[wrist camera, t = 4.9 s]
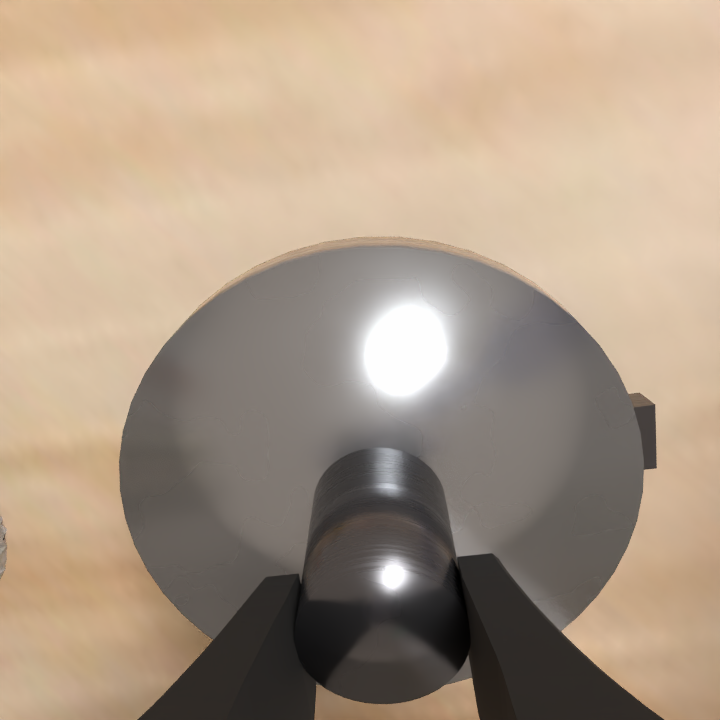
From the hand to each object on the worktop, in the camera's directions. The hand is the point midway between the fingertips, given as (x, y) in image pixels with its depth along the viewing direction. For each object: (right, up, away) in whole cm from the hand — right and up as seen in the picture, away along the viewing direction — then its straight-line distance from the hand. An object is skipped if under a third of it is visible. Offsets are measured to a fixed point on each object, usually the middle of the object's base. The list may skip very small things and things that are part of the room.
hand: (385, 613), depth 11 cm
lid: (0, +2, +3) cm, 4 cm away
